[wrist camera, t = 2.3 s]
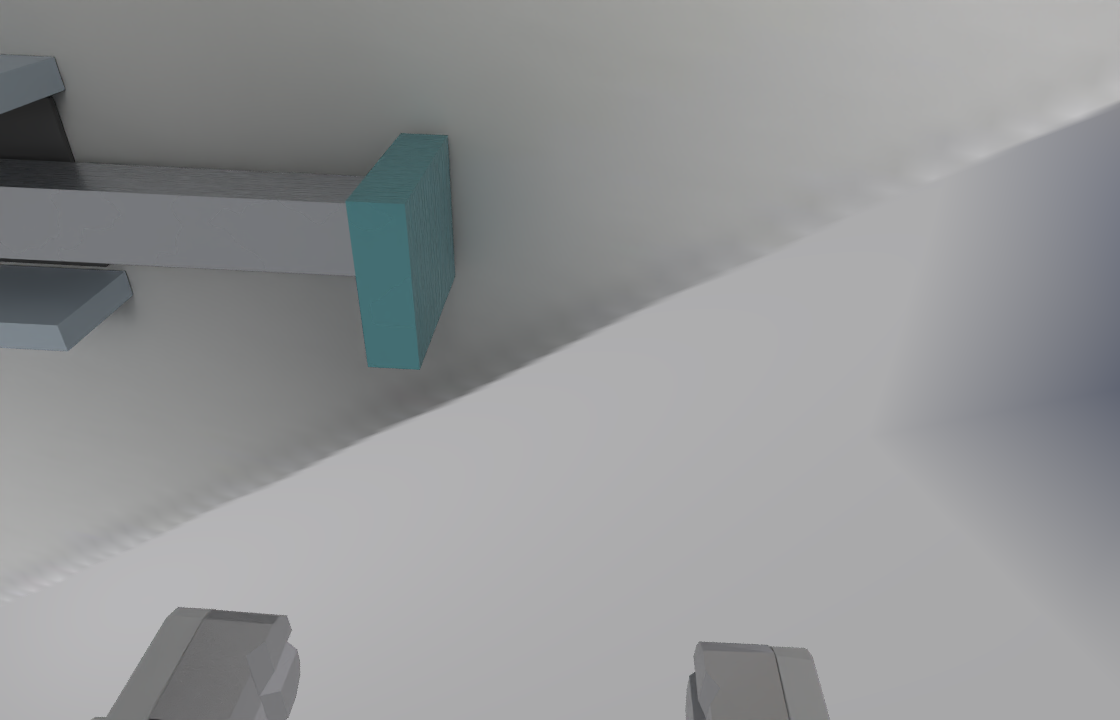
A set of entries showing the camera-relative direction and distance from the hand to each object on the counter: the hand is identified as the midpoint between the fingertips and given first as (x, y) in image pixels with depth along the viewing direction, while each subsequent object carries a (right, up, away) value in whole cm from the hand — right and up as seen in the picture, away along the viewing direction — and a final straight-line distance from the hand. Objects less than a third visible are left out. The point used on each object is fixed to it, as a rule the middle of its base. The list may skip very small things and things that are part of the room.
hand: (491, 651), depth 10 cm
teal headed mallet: (-12, +10, +14) cm, 21 cm away
